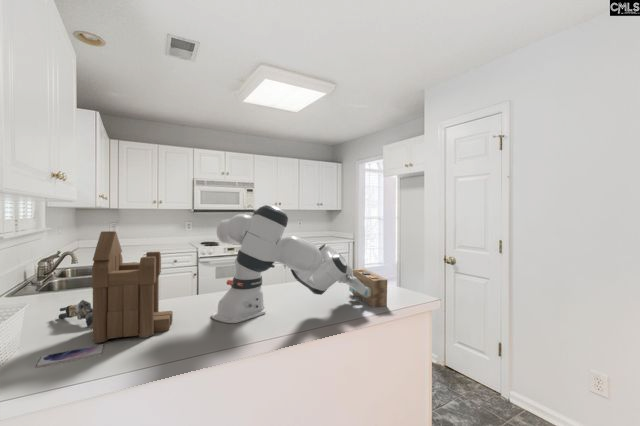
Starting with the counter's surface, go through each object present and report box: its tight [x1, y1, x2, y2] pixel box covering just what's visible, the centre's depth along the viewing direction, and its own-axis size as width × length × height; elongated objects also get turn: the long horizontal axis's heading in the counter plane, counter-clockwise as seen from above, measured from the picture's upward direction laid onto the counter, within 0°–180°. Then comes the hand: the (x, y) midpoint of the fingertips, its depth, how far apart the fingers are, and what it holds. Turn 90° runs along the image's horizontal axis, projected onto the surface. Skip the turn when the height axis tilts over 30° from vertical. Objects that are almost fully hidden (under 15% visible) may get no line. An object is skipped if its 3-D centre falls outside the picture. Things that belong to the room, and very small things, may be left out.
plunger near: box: [363, 286, 371, 298], centre depth 140 cm, size 9×4×4 cm, turn 106°
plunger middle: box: [348, 282, 364, 294], centre depth 147 cm, size 9×4×4 cm, turn 106°
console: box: [353, 268, 388, 308], centre depth 148 cm, size 7×24×13 cm, turn 16°
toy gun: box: [58, 299, 93, 328], centre depth 112 cm, size 3×21×10 cm, turn 67°
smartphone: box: [34, 344, 105, 369], centre depth 88 cm, size 7×1×15 cm
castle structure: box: [91, 230, 174, 344], centre depth 111 cm, size 27×22×35 cm
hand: (362, 293), depth 138 cm, fingers closed, pressing on plunger near
